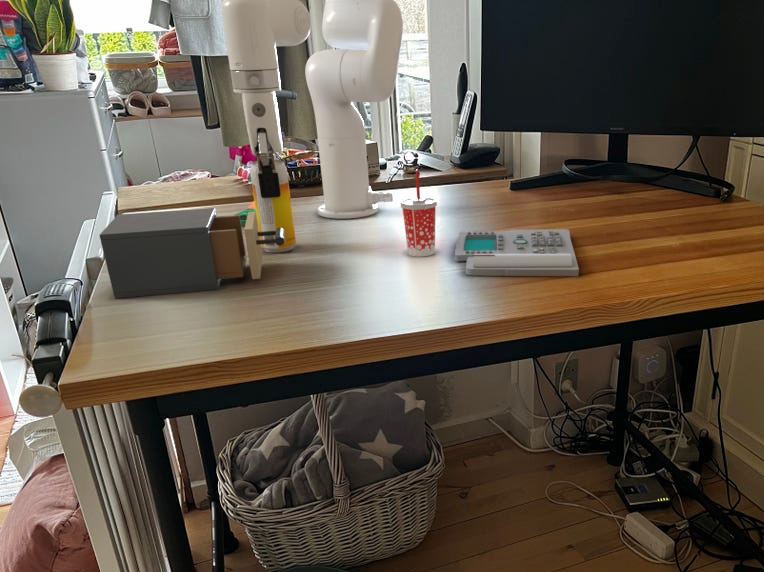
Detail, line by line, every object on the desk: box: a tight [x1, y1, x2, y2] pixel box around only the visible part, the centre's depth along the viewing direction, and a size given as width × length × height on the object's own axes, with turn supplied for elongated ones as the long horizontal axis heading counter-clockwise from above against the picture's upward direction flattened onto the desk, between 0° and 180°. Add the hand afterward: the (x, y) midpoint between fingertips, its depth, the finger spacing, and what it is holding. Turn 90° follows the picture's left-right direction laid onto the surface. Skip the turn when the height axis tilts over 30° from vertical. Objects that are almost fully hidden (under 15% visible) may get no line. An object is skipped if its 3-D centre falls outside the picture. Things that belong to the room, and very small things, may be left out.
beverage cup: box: [399, 169, 438, 258], centre depth 123 cm, size 6×6×14 cm
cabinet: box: [99, 207, 222, 299], centre depth 112 cm, size 15×13×10 cm
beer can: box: [249, 159, 297, 253], centre depth 126 cm, size 6×6×15 cm
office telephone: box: [454, 228, 580, 277], centre depth 123 cm, size 23×3×20 cm
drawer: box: [209, 212, 285, 280], centre depth 114 cm, size 18×11×8 cm, turn 104°
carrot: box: [234, 200, 258, 227], centre depth 151 cm, size 15×6×2 cm, turn 7°
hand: (271, 192), depth 125 cm, fingers closed on beer can, 6 cm apart
